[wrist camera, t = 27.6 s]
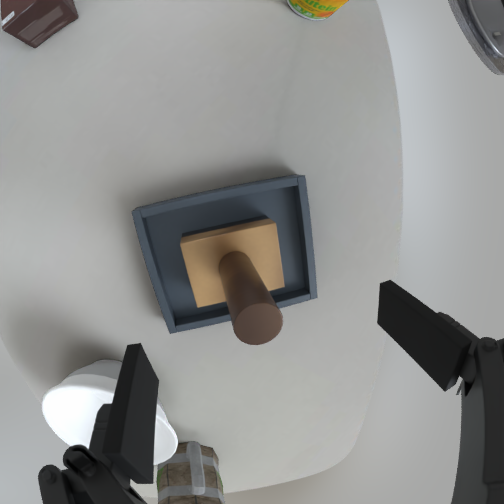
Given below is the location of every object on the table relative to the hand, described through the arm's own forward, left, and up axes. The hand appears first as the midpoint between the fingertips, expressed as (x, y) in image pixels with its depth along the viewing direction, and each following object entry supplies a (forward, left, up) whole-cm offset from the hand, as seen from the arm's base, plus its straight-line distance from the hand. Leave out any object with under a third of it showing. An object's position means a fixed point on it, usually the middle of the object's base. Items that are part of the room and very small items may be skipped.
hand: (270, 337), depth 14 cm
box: (+15, -31, -15) cm, 37 cm away
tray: (0, 0, -15) cm, 15 cm away
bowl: (+18, +14, -15) cm, 27 cm away
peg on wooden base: (0, 0, -14) cm, 14 cm away
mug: (+14, +32, -15) cm, 38 cm away
